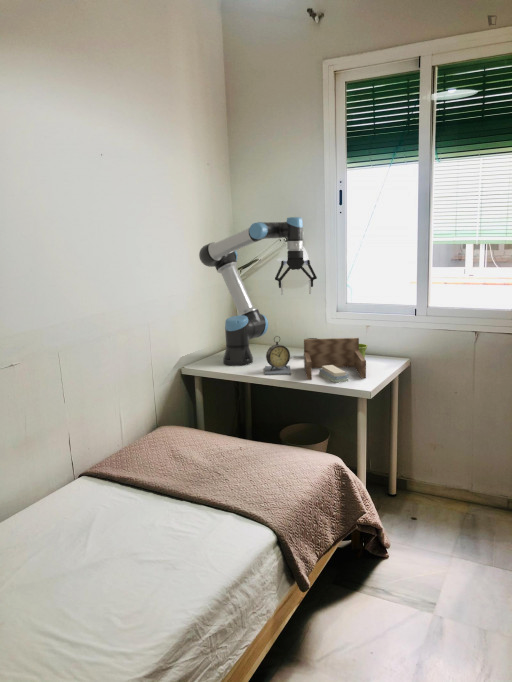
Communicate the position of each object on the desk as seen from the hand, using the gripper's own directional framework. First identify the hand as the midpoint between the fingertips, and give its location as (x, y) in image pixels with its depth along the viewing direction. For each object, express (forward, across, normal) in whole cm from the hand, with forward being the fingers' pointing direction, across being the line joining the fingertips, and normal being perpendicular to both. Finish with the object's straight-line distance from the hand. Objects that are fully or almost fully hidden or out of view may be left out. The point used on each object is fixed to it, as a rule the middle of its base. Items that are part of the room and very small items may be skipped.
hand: (296, 294), depth 258 cm
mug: (+35, +10, +11) cm, 38 cm away
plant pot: (+35, +30, -1) cm, 46 cm away
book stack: (+35, +15, -28) cm, 47 cm away
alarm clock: (+34, -10, -14) cm, 38 cm away
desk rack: (+35, +16, -19) cm, 43 cm away
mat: (+35, -10, -14) cm, 39 cm away
